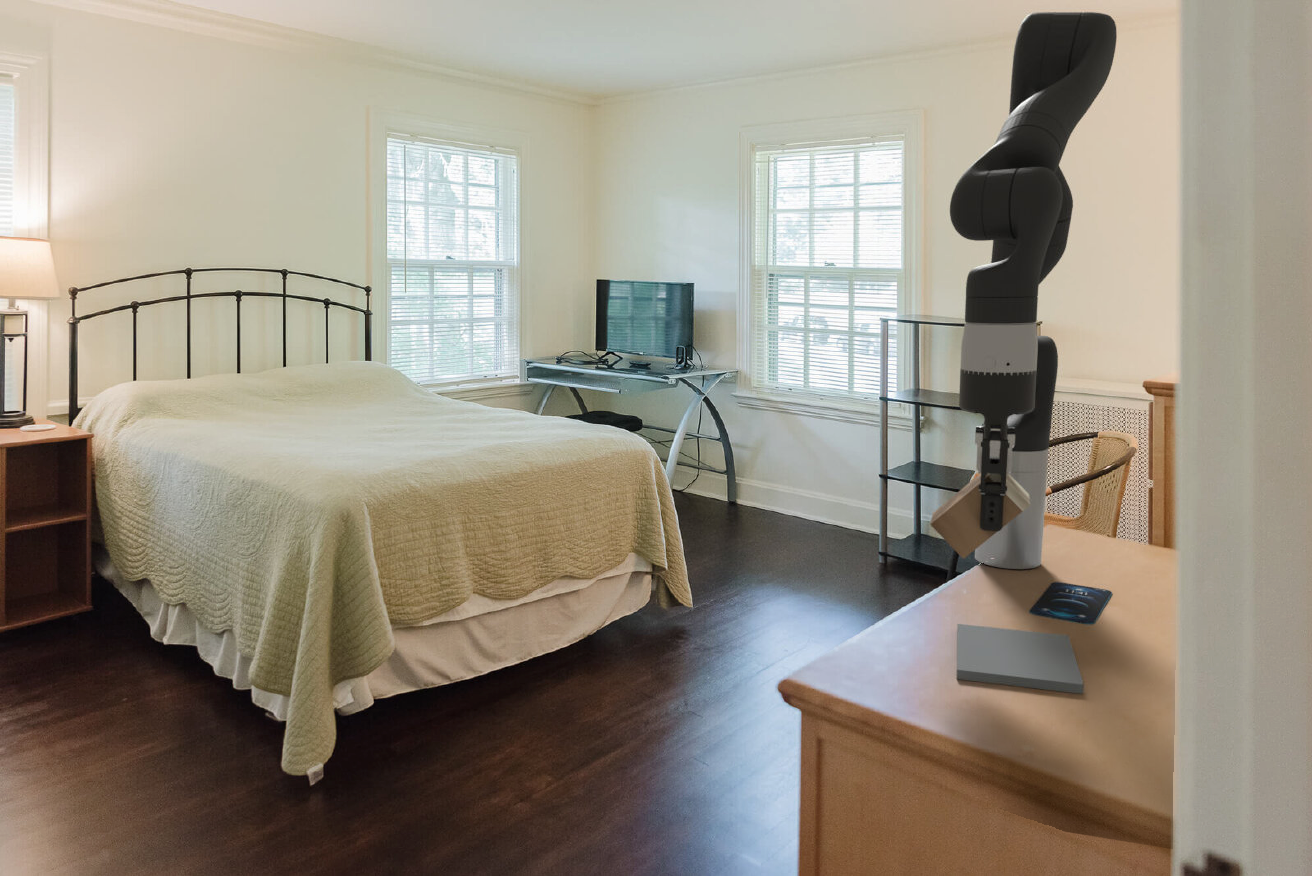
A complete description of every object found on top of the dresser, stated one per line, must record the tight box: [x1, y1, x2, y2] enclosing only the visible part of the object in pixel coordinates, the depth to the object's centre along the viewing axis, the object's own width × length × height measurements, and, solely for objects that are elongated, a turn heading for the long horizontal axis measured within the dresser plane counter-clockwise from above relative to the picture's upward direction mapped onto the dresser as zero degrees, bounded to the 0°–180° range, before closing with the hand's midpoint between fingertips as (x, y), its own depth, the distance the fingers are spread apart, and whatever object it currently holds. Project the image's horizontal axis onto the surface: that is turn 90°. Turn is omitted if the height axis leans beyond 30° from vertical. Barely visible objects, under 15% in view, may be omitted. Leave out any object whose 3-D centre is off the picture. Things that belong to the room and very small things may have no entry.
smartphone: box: [1028, 581, 1113, 626], centre depth 120 cm, size 8×1×15 cm
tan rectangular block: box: [929, 473, 1030, 560], centre depth 101 cm, size 5×5×9 cm
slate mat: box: [956, 623, 1084, 695], centre depth 101 cm, size 14×12×1 cm
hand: (990, 522), depth 101 cm, fingers closed on tan rectangular block, 5 cm apart
